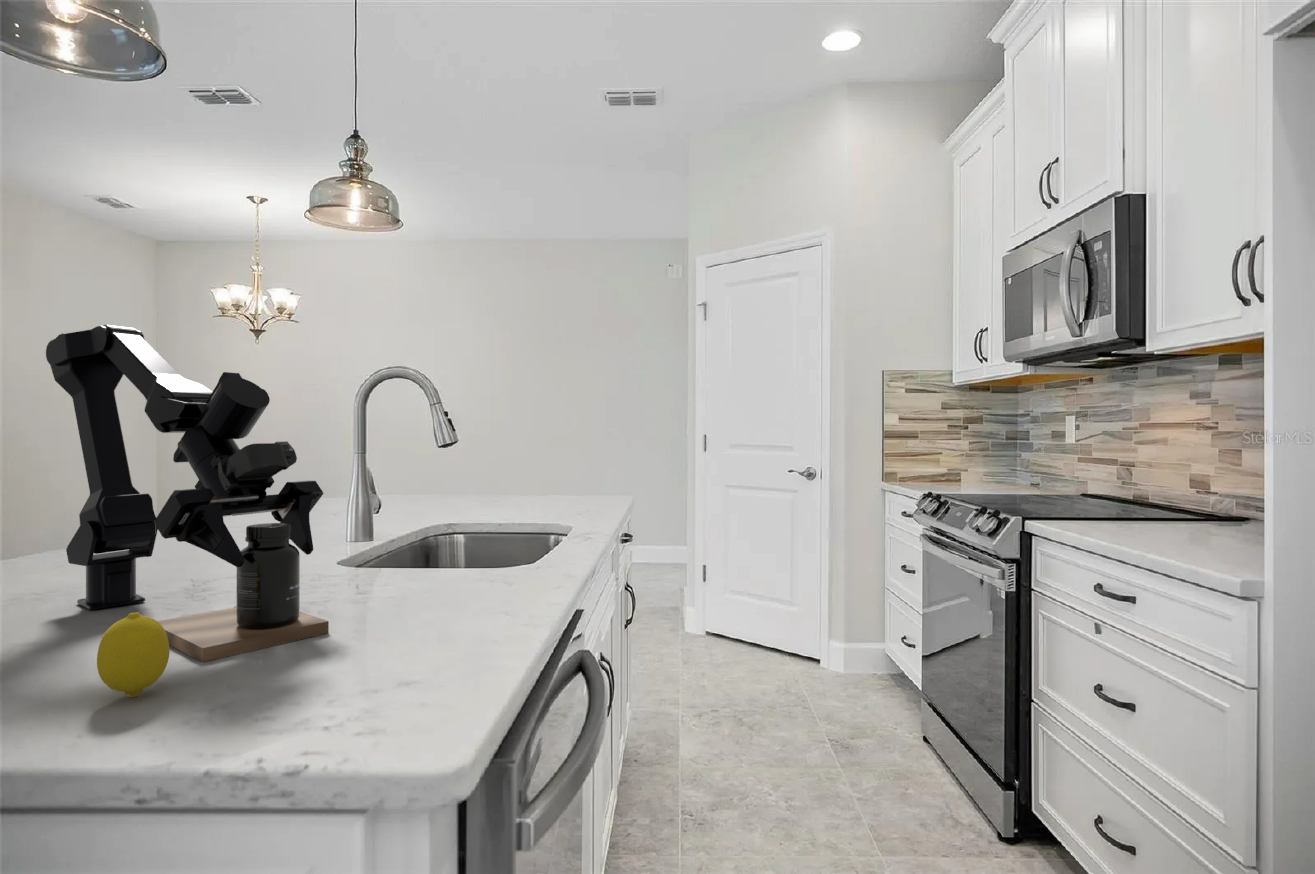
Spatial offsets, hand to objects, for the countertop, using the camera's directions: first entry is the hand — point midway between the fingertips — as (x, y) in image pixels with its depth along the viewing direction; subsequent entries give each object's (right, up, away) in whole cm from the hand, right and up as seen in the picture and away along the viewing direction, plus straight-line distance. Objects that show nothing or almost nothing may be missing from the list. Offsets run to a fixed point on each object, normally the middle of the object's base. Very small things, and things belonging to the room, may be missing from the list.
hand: (277, 558), depth 87 cm
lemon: (-3, -10, -19) cm, 22 cm away
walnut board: (-5, -9, +1) cm, 11 cm away
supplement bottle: (-1, -8, +1) cm, 8 cm away
